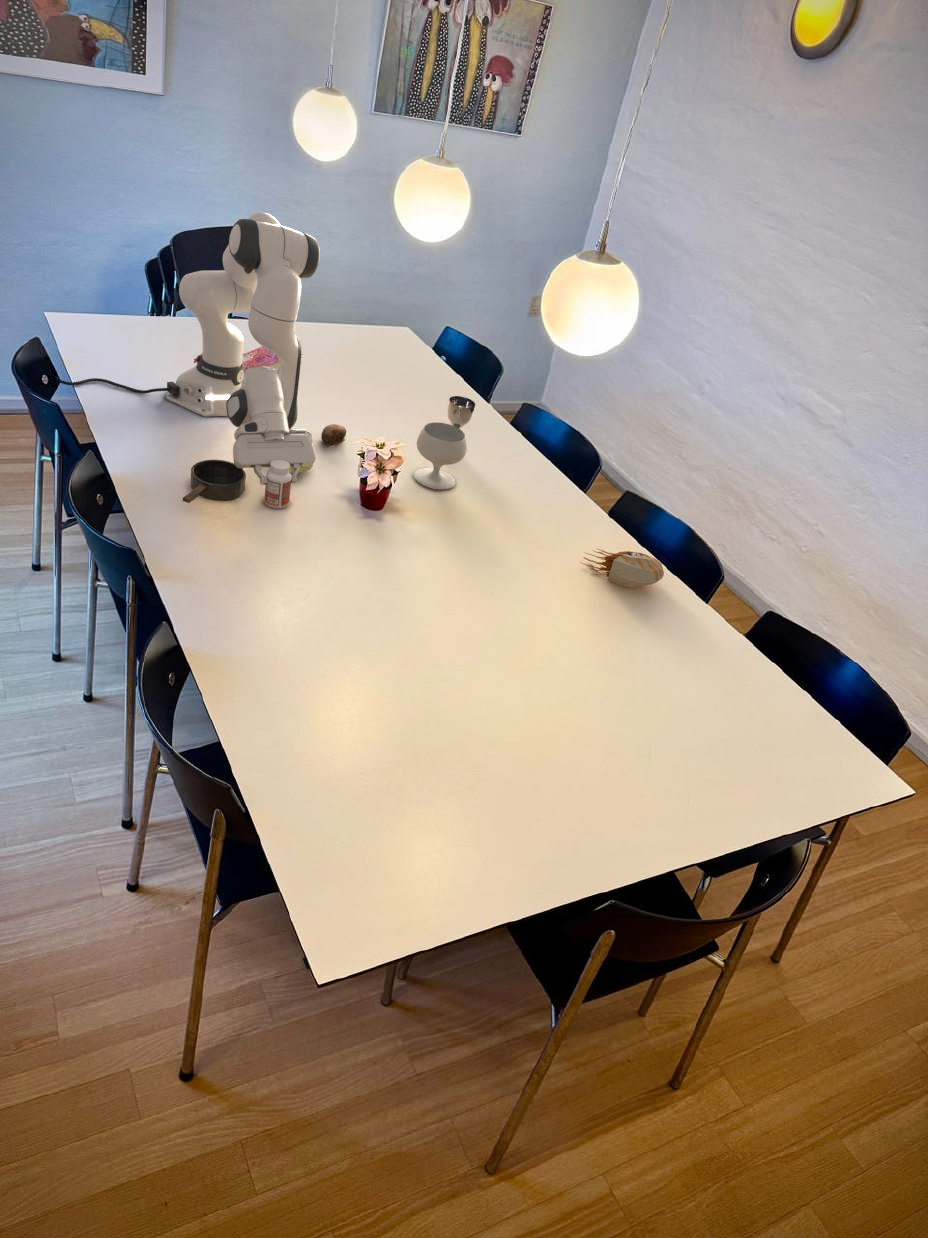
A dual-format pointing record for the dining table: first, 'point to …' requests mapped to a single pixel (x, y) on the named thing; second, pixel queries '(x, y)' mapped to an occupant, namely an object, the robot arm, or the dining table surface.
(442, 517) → the dining table surface
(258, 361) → the pink mottled wavy slab
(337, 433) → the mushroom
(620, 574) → the nautilus
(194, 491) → the pan handle
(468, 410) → the wine glass
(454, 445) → the chalice
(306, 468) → the green disc
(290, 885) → the dining table surface
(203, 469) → the pan
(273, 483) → the pill bottle
